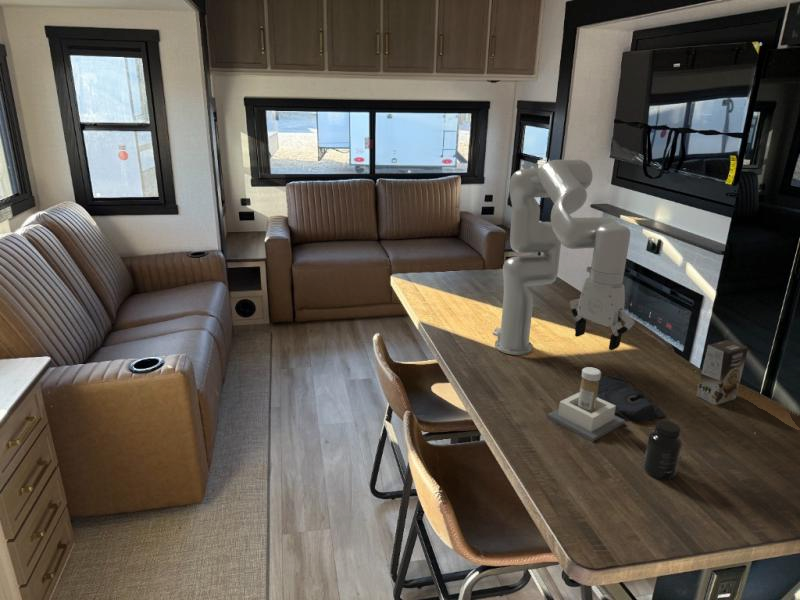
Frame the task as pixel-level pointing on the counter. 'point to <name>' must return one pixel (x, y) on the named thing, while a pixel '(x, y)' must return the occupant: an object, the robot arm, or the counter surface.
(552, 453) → the counter surface
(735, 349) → the coffee box
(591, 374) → the sprinkles bottle
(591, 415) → the bottle holder
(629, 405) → the dark slate chunk
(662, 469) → the supplement bottle
